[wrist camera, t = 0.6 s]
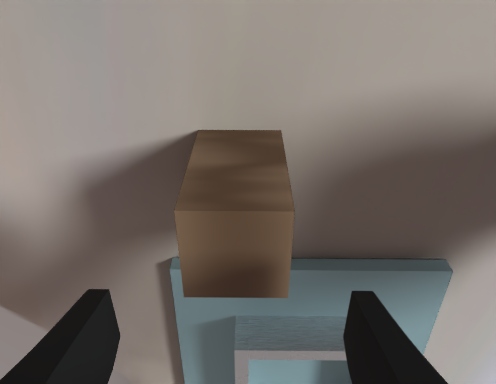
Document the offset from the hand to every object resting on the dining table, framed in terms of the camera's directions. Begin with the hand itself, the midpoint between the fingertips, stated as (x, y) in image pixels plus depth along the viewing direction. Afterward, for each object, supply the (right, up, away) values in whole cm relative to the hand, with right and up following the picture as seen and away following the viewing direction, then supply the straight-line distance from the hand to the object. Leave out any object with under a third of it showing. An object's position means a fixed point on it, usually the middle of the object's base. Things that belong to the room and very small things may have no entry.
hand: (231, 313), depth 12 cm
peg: (0, +5, +8) cm, 10 cm away
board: (+4, -7, +15) cm, 17 cm away
